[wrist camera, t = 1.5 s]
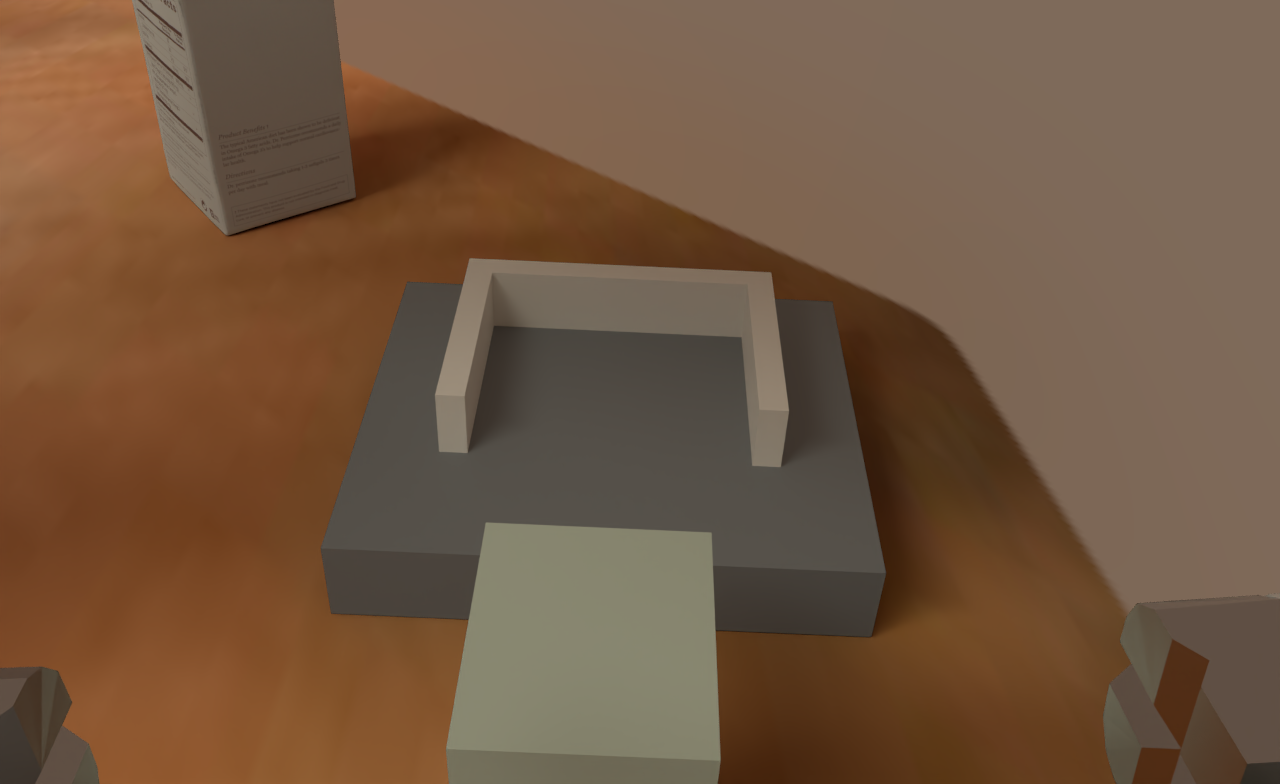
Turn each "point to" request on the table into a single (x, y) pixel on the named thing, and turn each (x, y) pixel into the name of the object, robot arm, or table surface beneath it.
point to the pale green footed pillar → (588, 660)
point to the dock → (611, 439)
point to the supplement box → (249, 105)
